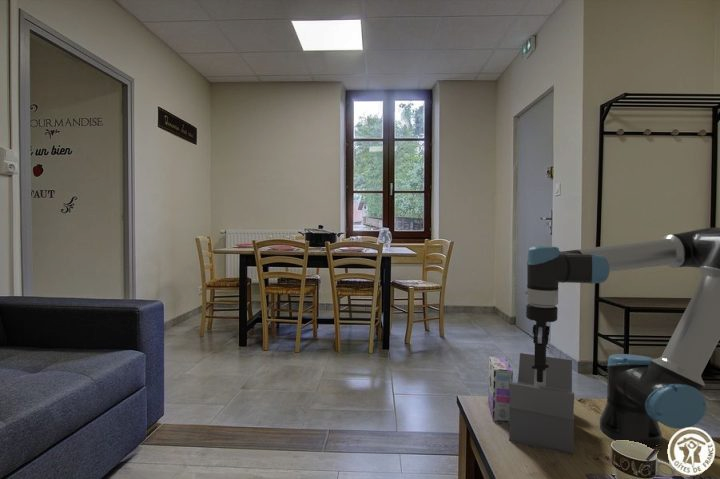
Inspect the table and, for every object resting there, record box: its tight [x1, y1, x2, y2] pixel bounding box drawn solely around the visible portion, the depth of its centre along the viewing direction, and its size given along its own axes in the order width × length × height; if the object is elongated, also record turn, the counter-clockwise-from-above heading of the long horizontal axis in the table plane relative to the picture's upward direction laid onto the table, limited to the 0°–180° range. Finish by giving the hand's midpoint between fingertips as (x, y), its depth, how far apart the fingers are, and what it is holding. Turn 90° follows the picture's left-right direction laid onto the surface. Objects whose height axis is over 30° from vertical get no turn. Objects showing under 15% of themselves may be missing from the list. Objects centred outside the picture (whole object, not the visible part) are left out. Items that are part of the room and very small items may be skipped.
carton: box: [508, 381, 575, 456], centre depth 118 cm, size 16×20×10 cm
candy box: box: [487, 356, 514, 424], centre depth 130 cm, size 14×6×16 cm, turn 168°
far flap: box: [517, 352, 573, 391], centre depth 129 cm, size 16×10×1 cm
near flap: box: [509, 381, 575, 420], centre depth 106 cm, size 16×10×1 cm
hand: (539, 392), depth 106 cm, fingers closed
